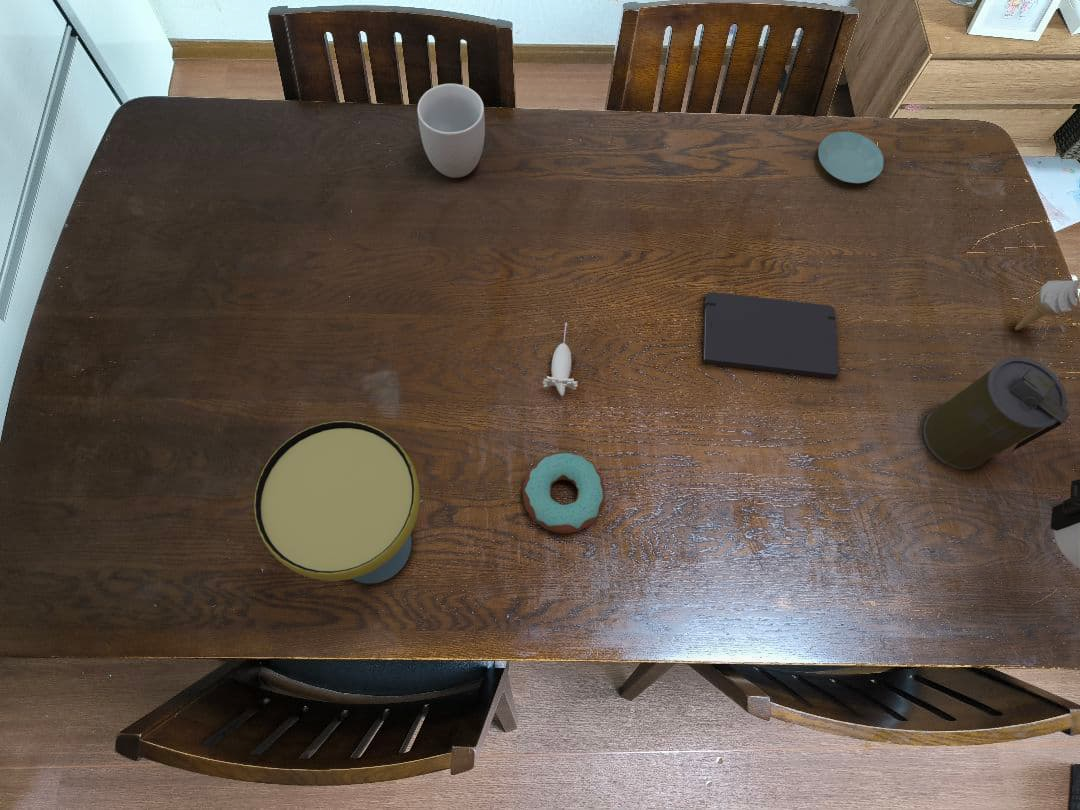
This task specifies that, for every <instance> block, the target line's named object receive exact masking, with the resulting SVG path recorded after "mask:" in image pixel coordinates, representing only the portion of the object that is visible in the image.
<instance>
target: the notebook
mask: <svg viewBox="0 0 1080 810" xmlns="http://www.w3.org/2000/svg"><path fill="white" fill-rule="evenodd" d="M836 322H837V320H836V309H835V307H834V306H832V305H828V304H820V303H812V302H803V301H795V300H786V299H777V298H768V297H759V296H750V295H741V294H734V293H733V294H732V293H725V292H724V293H723V292H715V291H709V292H707V293H706V296H705V298H704V300H703V334H702V335H703V339H702V341H703V342H702V364H703V365H713V366H720V367H731V368H737V369H748V370H756V371H765V372H773V373H782V374H790V375H800V376H808V377H817V378H825V379H833V380H835V379H836V378H837V377H838V376H839V375H840V372H839V356H838V338H837V323H836Z"/></svg>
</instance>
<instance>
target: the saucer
mask: <svg viewBox="0 0 1080 810" xmlns="http://www.w3.org/2000/svg"><path fill="white" fill-rule="evenodd" d="M817 150H818V152H817V153H818V154H817V155H818V159H819V162H820V164H821V166H822V167H823V169H824V170H825V171H826V172H827V173H828V174H829V175H830V176H831V177H832V178H835V179H837V180H838V181H841V182H845V183H848V184H849V183H851V184H863V183H864V184H865V183H868V182H870V181H873V180H874V179H875V178H877V177H878V176H879V175H880V174H881V172H882V171H883V169H884V162H885V161H884V155H883V152H882V151H881V149H880V147H879V146H878V145H877V144H876V143H875V142H874V141H873V140H871V139H870V138H868V137H866V136H864V135H863V134H860V133H857V132H853V131H838V132H834V133H831V134H829V135H827V136H826V137H825V138H823V139H822V141H821V142H820V144H819V146H818V149H817Z"/></svg>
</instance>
